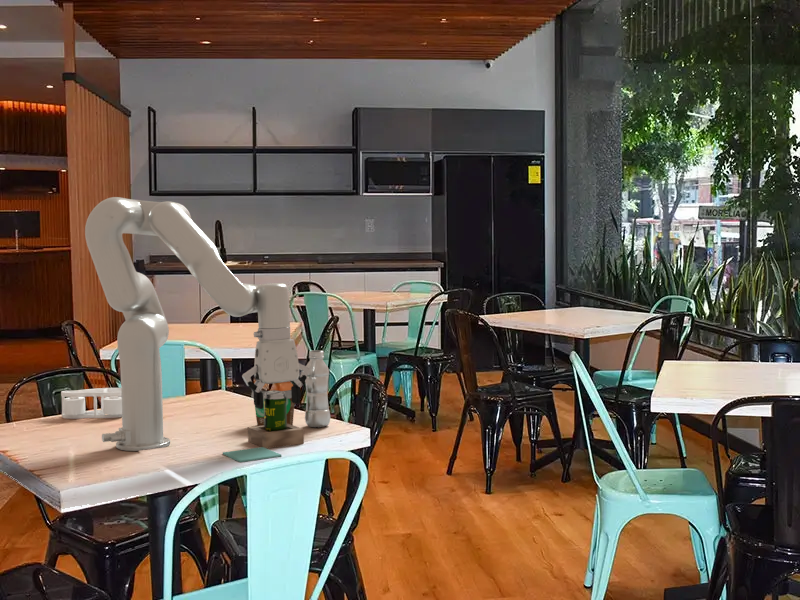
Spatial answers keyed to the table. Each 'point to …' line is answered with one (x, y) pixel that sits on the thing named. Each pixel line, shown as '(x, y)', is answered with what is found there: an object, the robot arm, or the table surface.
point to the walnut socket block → (275, 436)
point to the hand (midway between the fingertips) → (277, 405)
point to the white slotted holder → (109, 405)
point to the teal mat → (251, 454)
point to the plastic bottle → (317, 391)
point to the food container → (288, 408)
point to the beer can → (275, 411)
